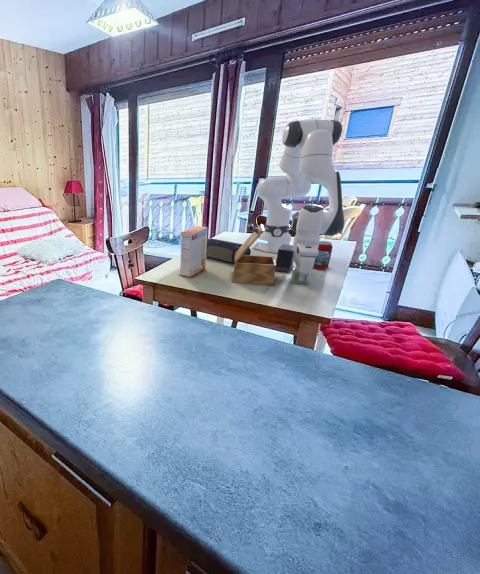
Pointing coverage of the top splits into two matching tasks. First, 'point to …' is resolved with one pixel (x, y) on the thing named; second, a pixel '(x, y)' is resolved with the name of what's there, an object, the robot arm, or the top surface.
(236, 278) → the basket
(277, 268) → the small box
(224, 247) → the portable speaker
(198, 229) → the cracker box
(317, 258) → the beverage can
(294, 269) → the block
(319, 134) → the robot arm
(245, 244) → the basket lid
